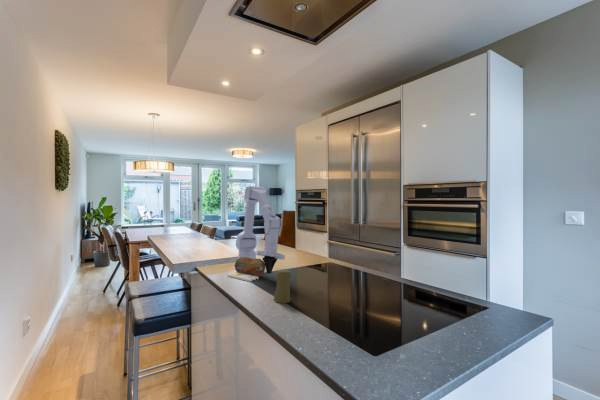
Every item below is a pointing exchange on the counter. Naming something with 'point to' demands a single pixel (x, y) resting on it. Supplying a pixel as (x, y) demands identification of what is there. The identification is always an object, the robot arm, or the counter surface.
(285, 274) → the olive green tapered cylinder
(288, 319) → the counter surface
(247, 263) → the tin
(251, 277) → the label board
